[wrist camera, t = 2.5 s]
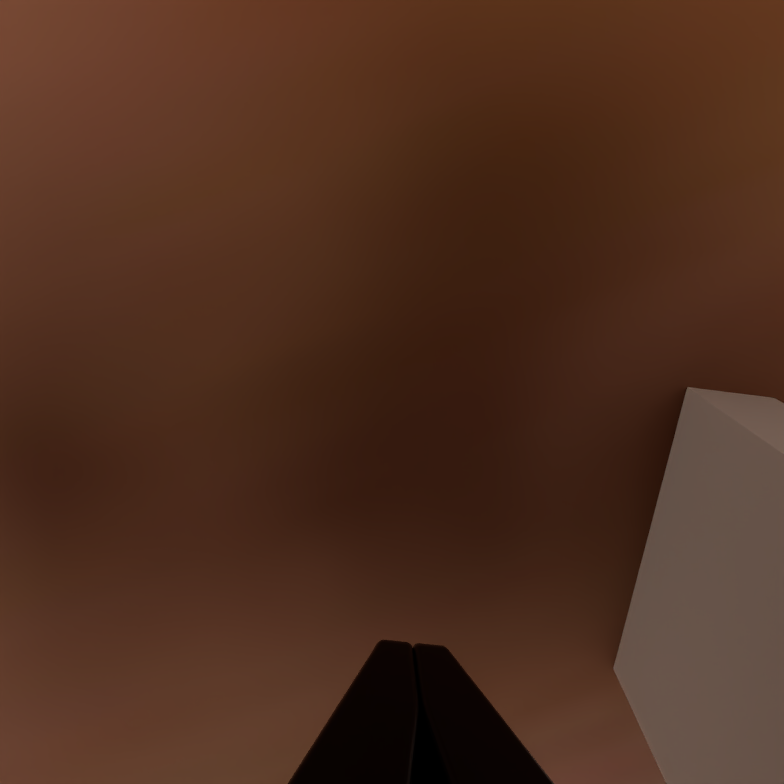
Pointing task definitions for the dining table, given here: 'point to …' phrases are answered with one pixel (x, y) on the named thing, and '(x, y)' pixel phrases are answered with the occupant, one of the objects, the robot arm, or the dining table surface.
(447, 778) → the robot arm
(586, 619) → the dining table surface
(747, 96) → the dining table surface
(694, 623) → the tile
